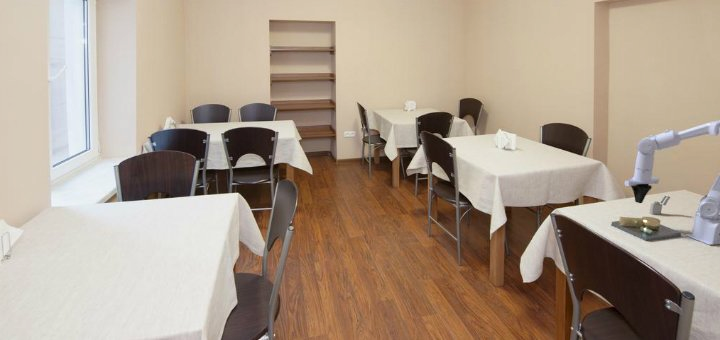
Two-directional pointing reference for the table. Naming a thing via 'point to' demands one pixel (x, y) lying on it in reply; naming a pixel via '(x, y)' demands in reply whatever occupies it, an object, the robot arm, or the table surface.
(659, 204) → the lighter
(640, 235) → the base plate
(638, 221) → the gold elongated piece
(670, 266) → the table surface
